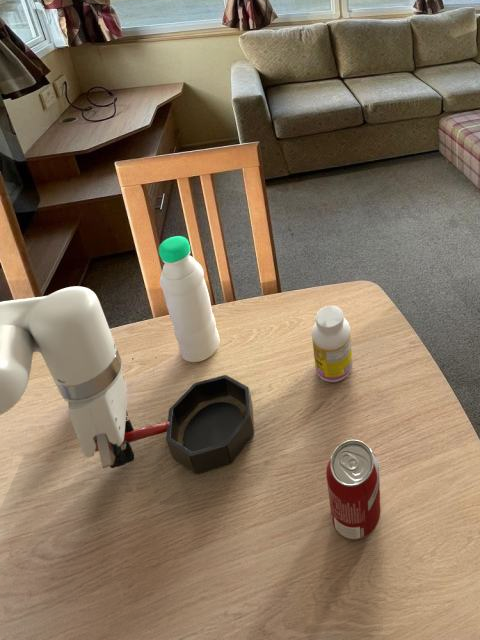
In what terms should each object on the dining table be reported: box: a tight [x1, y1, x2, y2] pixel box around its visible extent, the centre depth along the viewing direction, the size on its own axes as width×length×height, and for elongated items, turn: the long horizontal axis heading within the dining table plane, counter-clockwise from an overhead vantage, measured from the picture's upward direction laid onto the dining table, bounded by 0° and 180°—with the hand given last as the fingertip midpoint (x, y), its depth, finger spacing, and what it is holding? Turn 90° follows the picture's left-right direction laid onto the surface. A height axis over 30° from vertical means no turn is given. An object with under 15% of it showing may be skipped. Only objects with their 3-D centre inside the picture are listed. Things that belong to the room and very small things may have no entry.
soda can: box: [325, 439, 382, 541], centre depth 64 cm, size 7×7×12 cm
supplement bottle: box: [311, 305, 353, 383], centre depth 84 cm, size 7×7×13 cm
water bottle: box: [158, 235, 220, 363], centre depth 86 cm, size 7×7×25 cm
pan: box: [95, 374, 255, 475], centre depth 75 cm, size 23×12×5 cm, turn 107°
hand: (123, 451), depth 73 cm, fingers closed
